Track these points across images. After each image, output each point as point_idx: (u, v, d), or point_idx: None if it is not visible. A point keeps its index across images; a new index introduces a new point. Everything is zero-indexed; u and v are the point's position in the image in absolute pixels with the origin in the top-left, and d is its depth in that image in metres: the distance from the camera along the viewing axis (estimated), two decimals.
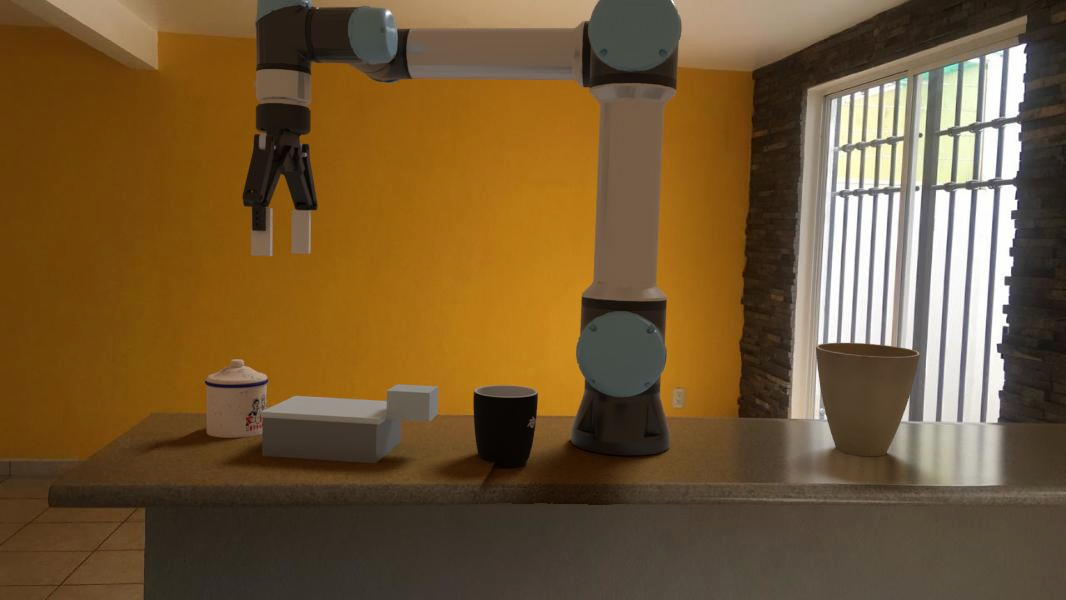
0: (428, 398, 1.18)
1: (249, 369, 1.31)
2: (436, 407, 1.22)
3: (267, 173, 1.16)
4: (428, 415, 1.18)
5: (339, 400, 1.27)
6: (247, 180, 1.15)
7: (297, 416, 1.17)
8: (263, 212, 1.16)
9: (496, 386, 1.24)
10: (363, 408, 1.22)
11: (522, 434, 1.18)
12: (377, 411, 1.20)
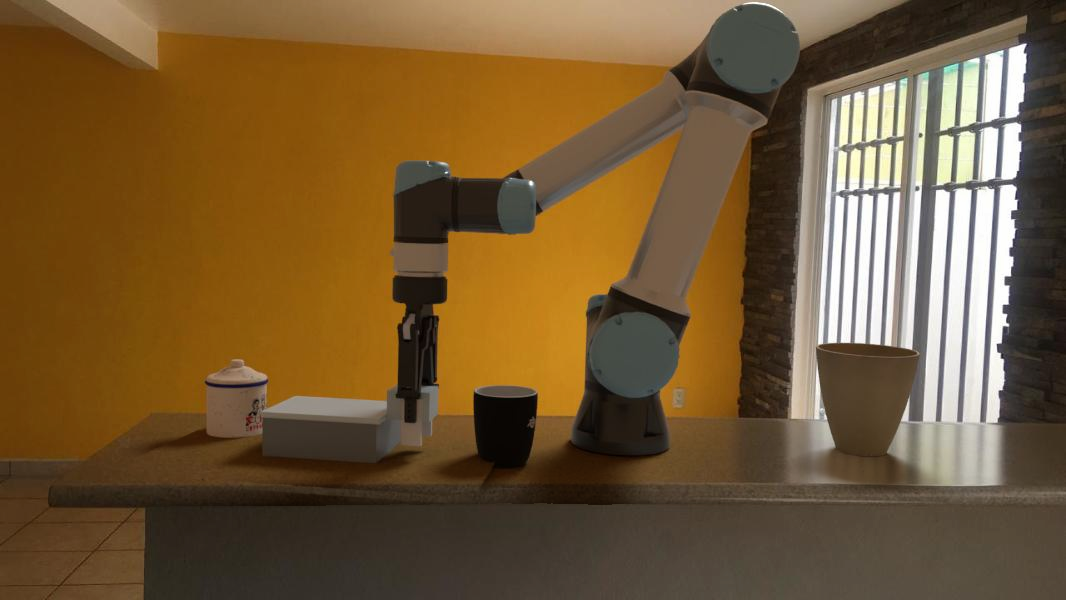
0: (428, 398, 1.18)
1: (249, 369, 1.31)
2: (436, 407, 1.22)
3: (416, 366, 1.15)
4: (428, 415, 1.18)
5: (339, 400, 1.27)
6: (399, 376, 1.14)
7: (297, 416, 1.17)
8: (415, 404, 1.17)
9: (496, 386, 1.24)
10: (363, 408, 1.22)
11: (522, 434, 1.18)
12: (377, 411, 1.20)
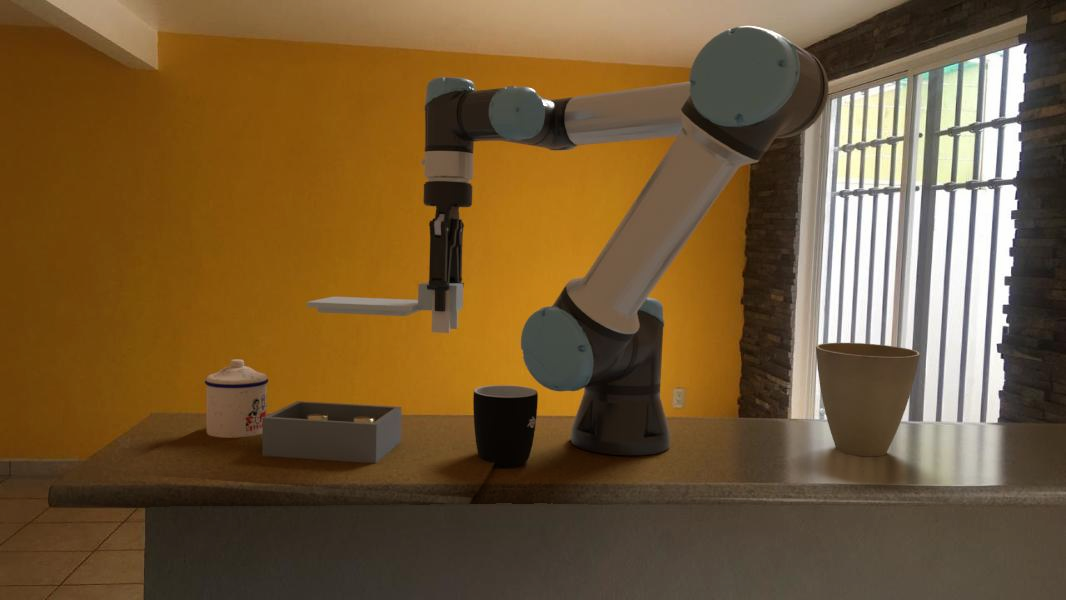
0: (455, 290, 1.33)
1: (249, 369, 1.31)
2: (461, 301, 1.37)
3: (446, 259, 1.29)
4: (455, 305, 1.33)
5: None
6: (430, 268, 1.29)
7: (339, 305, 1.32)
8: (444, 295, 1.32)
9: (496, 386, 1.24)
10: (396, 302, 1.36)
11: (522, 434, 1.18)
12: (409, 303, 1.35)
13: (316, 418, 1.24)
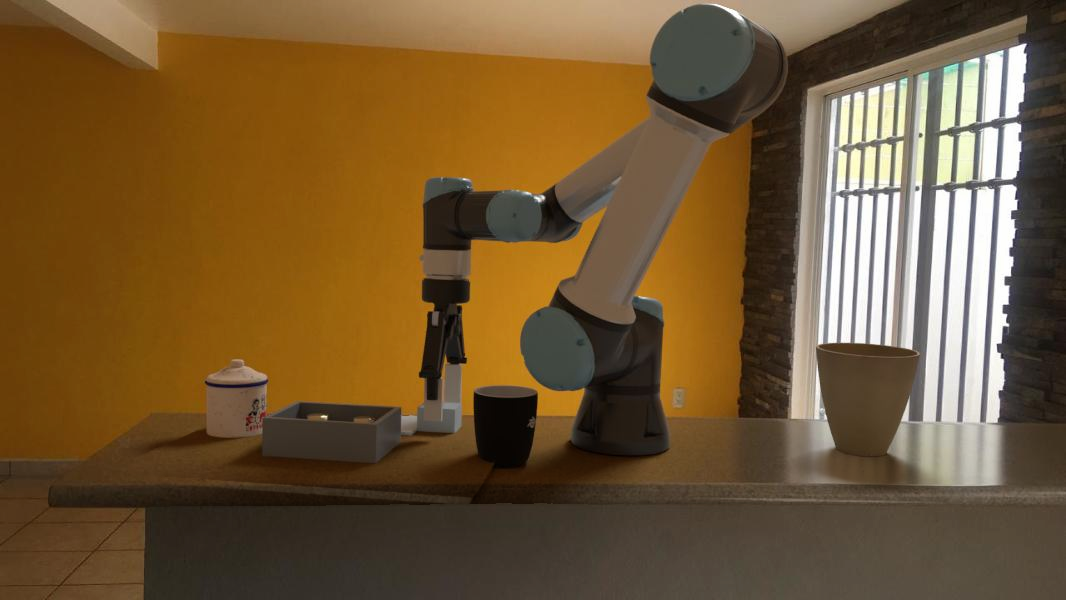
0: (454, 414, 1.34)
1: (249, 369, 1.31)
2: (460, 421, 1.38)
3: (440, 349, 1.28)
4: (453, 429, 1.34)
5: None
6: (424, 356, 1.27)
7: None
8: (436, 383, 1.29)
9: (496, 386, 1.24)
10: None
11: (522, 434, 1.18)
12: (408, 425, 1.36)
13: (316, 418, 1.24)
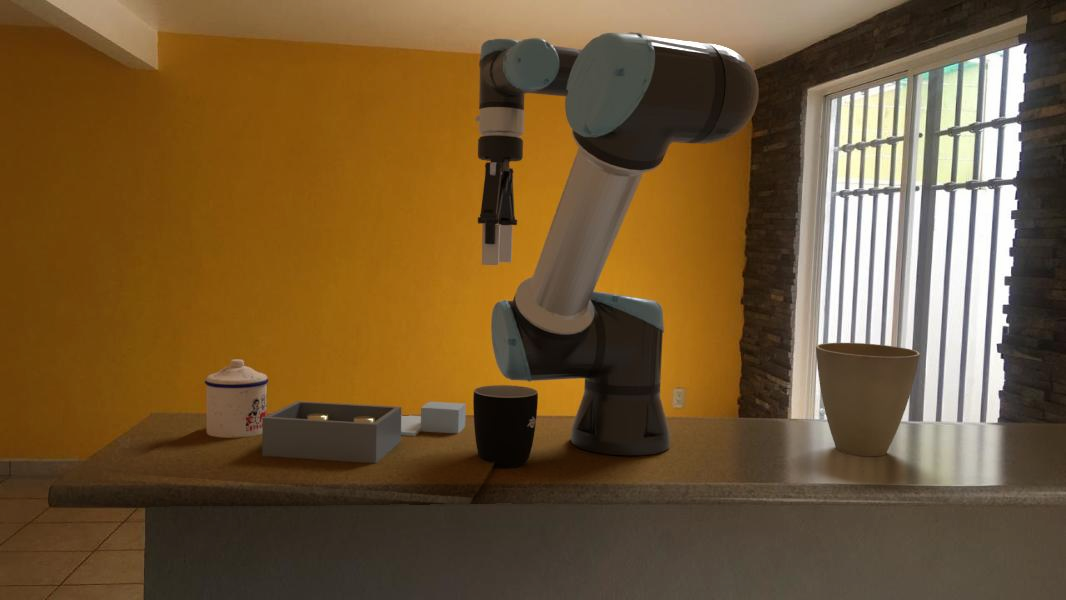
0: (457, 414, 1.34)
1: (249, 369, 1.31)
2: (464, 422, 1.38)
3: (498, 196, 1.37)
4: (457, 429, 1.34)
5: None
6: (483, 201, 1.37)
7: None
8: (494, 228, 1.38)
9: (496, 386, 1.24)
10: None
11: (522, 434, 1.18)
12: (412, 425, 1.36)
13: (316, 418, 1.24)
